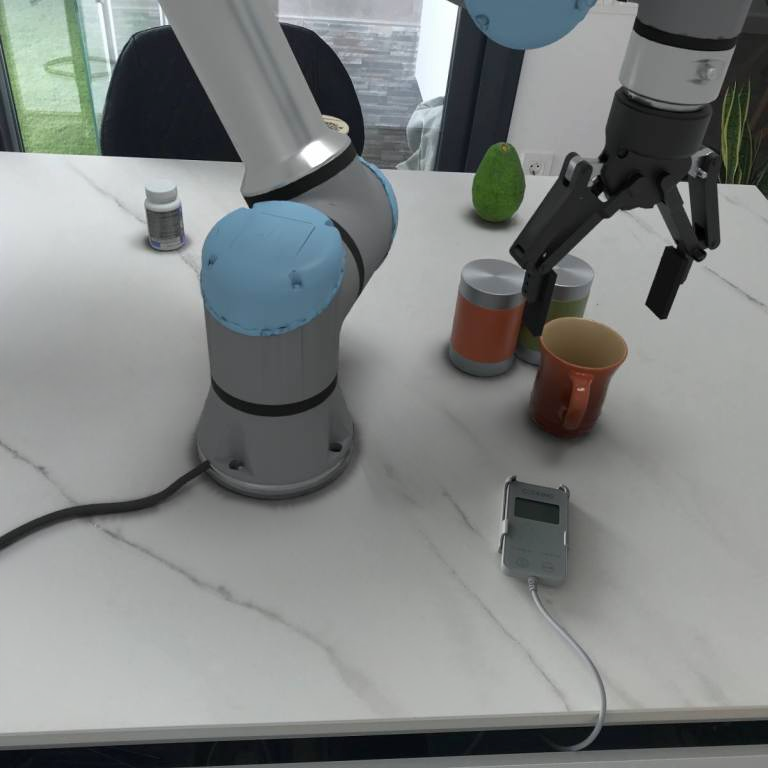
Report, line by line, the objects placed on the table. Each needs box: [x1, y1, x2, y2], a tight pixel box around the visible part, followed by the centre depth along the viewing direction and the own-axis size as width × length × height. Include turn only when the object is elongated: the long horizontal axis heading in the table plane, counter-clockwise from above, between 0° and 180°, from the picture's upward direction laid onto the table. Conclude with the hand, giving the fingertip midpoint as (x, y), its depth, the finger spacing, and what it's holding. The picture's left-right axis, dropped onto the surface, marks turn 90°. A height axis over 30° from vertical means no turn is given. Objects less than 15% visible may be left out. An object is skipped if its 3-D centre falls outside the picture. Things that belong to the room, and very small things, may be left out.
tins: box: [448, 253, 595, 377], centre depth 88 cm, size 16×8×11 cm, turn 108°
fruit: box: [471, 141, 527, 223], centre depth 114 cm, size 8×8×12 cm
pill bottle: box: [143, 178, 186, 251], centre depth 103 cm, size 5×5×8 cm
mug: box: [529, 317, 629, 438], centre depth 79 cm, size 12×9×10 cm
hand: (594, 320), depth 73 cm, fingers open, 13 cm apart
